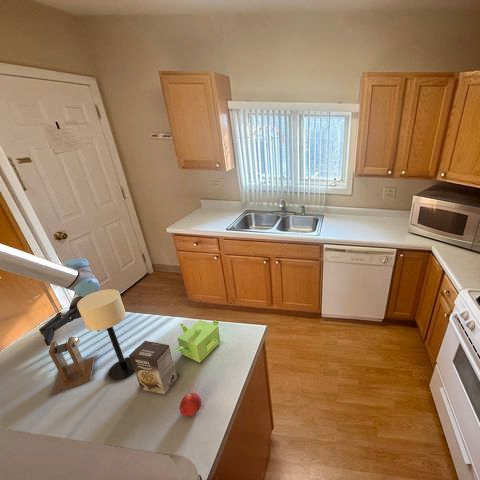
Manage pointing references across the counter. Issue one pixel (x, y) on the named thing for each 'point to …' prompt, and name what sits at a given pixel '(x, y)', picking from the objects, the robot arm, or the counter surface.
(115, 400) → the counter surface
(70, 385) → the wooden globe stand
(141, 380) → the coffee box
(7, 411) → the counter surface
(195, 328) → the cube with spouts
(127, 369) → the desk lamp
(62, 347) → the black pendulum
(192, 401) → the red apple
